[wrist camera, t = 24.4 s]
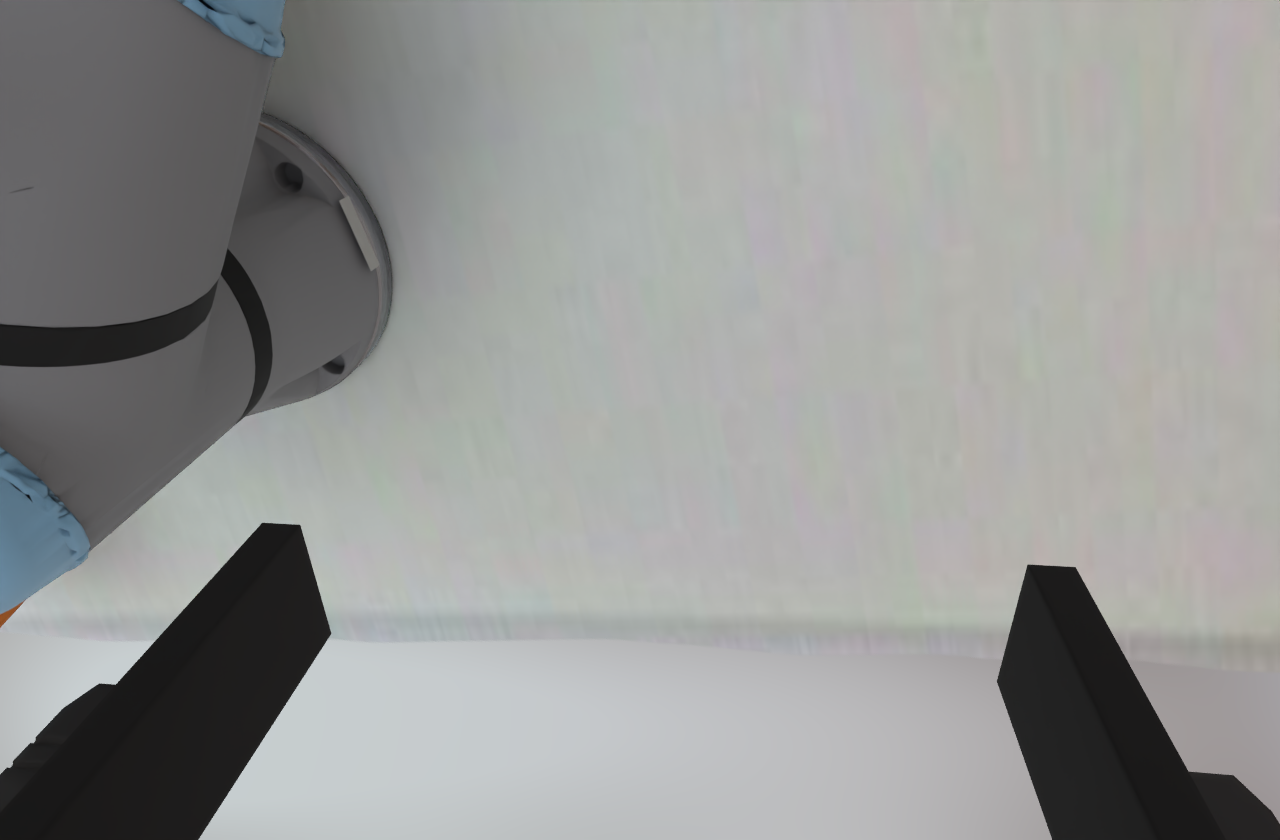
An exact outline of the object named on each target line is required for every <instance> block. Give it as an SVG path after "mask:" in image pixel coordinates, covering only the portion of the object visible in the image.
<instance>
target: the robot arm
mask: <svg viewBox="0 0 1280 840" xmlns="http://www.w3.org/2000/svg"><path fill="white" fill-rule="evenodd" d="M284 5H285V0H0V614H2V613H4V612H6V611H9V610H11V609H12V608H14V607H16V606H17V605H19V604H20V603H22V602H23V601H24V600H26V599H27V598H29V597H30V596H31V595H33V594H34V593H36V592H37V591H38V590H40V589H41V588H43V587H44V586H46V585H47V584H49V583H50V582H52V581H53V580H55V579H56V578H58V577H59V576H61V575H62V574H64V573H65V572H67V571H70V570H71V569H74V568H76V567H77V566H78V565H80V564H81V563H82V562H84V561H85V560H86V559H87V558H88V552H89V551H90V550H92V549H93V548H94V547H95V546H96V545H97V544H99V543H100V542H101V541H102V540H103V539H104V538H105V537H107V536H108V535H109V534H110V533H111V532H112V531H113V530H115V529H116V528H117V527H118V526H119V525H120V524H122V523H123V522H124V521H125V520H126V519H127V518H128V517H130V516H131V515H132V514H133V513H134V512H135V511H137V510H138V509H139V508H140V507H141V506H142V505H143V504H145V503H146V502H147V501H148V500H149V499H150V498H151V497H153V496H154V495H155V494H156V493H157V492H158V491H160V490H161V489H162V488H163V487H164V486H165V485H166V484H168V483H169V482H170V481H171V480H172V479H173V478H174V477H176V476H177V475H178V474H179V473H180V472H181V471H183V470H184V469H185V468H186V467H187V466H188V465H189V464H191V463H192V462H193V461H194V460H195V459H196V458H197V457H199V456H200V455H201V454H202V453H203V452H204V451H206V450H207V449H208V448H209V447H210V446H211V445H212V444H214V443H215V442H216V441H217V440H218V439H219V438H220V437H222V436H223V435H224V434H225V433H226V432H227V431H229V430H230V429H231V428H232V427H233V426H234V425H235V424H237V423H238V422H239V421H240V420H241V419H243V418H244V417H245V416H248V415H252V414H256V413H259V412H263V411H266V410H270V409H273V408H277V407H280V406H284V405H288V404H291V403H295V402H298V401H302V400H305V399H308V398H311V397H313V396H316V395H318V394H320V393H322V392H324V391H326V390H328V389H330V388H332V387H334V386H335V385H337V384H338V383H340V382H341V381H342V380H344V379H345V378H346V377H347V376H349V375H350V374H351V373H352V372H353V371H354V370H355V369H356V368H357V367H358V366H359V365H360V364H361V363H362V362H363V361H364V360H365V359H366V358H367V357H368V356H369V354H370V353H371V352H372V350H373V349H374V348H375V346H376V344H377V343H378V341H379V339H380V337H381V335H382V333H383V331H384V328H385V326H386V323H387V319H388V316H389V311H390V305H391V296H392V275H391V267H390V260H389V256H388V251H387V247H386V244H385V241H384V238H383V235H382V232H381V229H380V227H379V225H378V222H377V220H376V217H375V216H374V214H373V212H372V210H371V208H370V206H369V204H368V202H367V201H366V199H365V198H364V196H363V194H362V193H361V191H360V190H359V188H358V187H357V186H356V184H355V183H354V182H353V180H352V179H351V178H350V176H349V175H348V174H347V173H346V172H345V171H344V169H343V168H342V167H341V166H340V165H339V164H338V163H337V162H336V161H335V160H334V159H333V158H332V157H331V156H330V155H329V154H328V153H327V152H326V151H325V150H324V149H322V148H321V147H320V146H319V145H317V144H316V143H315V142H314V141H313V140H311V139H310V138H308V137H307V136H305V135H304V134H303V133H301V132H300V131H298V130H296V129H295V128H293V127H291V126H289V125H288V124H286V123H284V122H282V121H280V120H278V119H276V118H274V117H271V116H269V115H267V114H264V113H262V109H263V105H264V101H265V97H266V93H267V89H268V86H269V82H270V78H271V74H272V70H273V66H274V62H275V58H281V57H282V55H283V51H284V48H285V38H284V36H283V34H282V32H281V24H282V18H283V11H284ZM330 635H331V631H330V628H329V624H328V621H327V617H326V614H325V610H324V607H323V603H322V600H321V596H320V593H319V589H318V586H317V582H316V579H315V575H314V572H313V568H312V565H311V561H310V558H309V554H308V551H307V547H306V544H305V540H304V537H303V533H302V530H301V526H300V525H291V524H273V523H262V524H261V525H260V526H259V527H258V528H257V529H256V531H255V532H254V533H253V534H252V535H251V536H250V537H249V538H248V539H247V540H246V542H245V543H244V544H243V545H242V546H241V547H240V548H239V549H238V550H237V551H236V553H235V554H234V555H233V556H232V557H231V558H230V559H229V560H228V561H227V563H226V564H225V565H224V566H223V567H222V568H221V569H220V570H219V571H218V572H217V574H216V575H215V576H214V577H213V578H212V579H211V580H210V581H209V582H208V584H207V585H206V586H205V587H204V588H203V589H202V590H201V591H200V592H199V593H198V595H197V596H196V597H195V598H194V599H193V600H192V601H191V602H190V603H189V605H188V606H187V607H186V608H185V609H184V610H183V611H182V612H181V613H180V614H179V616H178V617H177V618H176V619H175V620H174V621H173V622H172V623H171V624H170V625H169V627H168V628H167V629H166V630H165V631H164V632H163V633H162V634H161V635H160V637H159V638H158V639H157V640H156V641H155V642H154V643H153V644H152V645H151V647H150V648H149V649H148V650H147V651H146V652H145V653H144V654H143V656H142V657H141V658H140V659H139V660H138V661H137V662H136V663H135V664H134V665H133V666H132V668H131V669H130V670H129V671H128V672H127V673H126V674H125V675H124V676H123V678H122V679H121V680H120V681H119V682H118V683H117V684H116V685H111V684H98V685H97V686H95V687H94V688H92V689H91V690H89V691H88V692H86V693H85V694H83V695H82V696H80V697H79V698H78V699H76V700H75V701H73V702H72V703H70V704H69V705H68V706H66V707H64V708H63V709H62V710H61V711H60V712H59V713H58V715H56V716H55V718H54V719H53V720H52V721H51V722H50V723H49V724H48V725H47V726H46V727H45V728H44V729H43V730H42V731H41V732H40V734H38V735H37V737H36V741H35V742H34V743H30V744H29V745H28V746H27V747H26V748H25V749H24V750H23V751H22V752H21V753H20V755H19V756H18V757H17V758H16V759H15V760H14V761H13V766H12V767H11V768H6V769H5V770H4V771H3V772H2V773H1V774H0V840H198V839H199V838H200V836H201V835H202V833H203V831H204V830H205V828H206V827H207V825H208V824H209V822H210V821H211V819H212V818H213V816H214V814H215V813H216V811H217V810H218V808H219V807H220V805H221V804H222V802H223V801H224V799H225V797H226V796H227V794H228V793H229V791H230V790H231V788H232V787H233V785H234V783H235V782H236V780H237V779H238V777H239V776H240V774H241V773H242V771H243V770H244V768H245V766H246V765H247V763H248V762H249V760H250V759H251V757H252V756H253V754H254V753H255V751H256V749H257V748H258V746H259V745H260V743H261V742H262V740H263V738H264V737H265V735H266V734H267V732H268V731H269V729H270V728H271V726H272V725H273V723H274V721H275V720H276V718H277V717H278V715H279V714H280V712H281V711H282V709H283V708H284V706H285V705H286V703H287V701H288V700H289V698H290V697H291V695H292V694H293V692H294V691H295V689H296V687H297V686H298V684H299V683H300V681H301V680H302V678H303V677H304V675H305V674H306V672H307V670H308V669H309V667H310V666H311V664H312V663H313V661H314V660H315V658H316V656H317V655H318V653H319V652H320V650H321V649H322V647H323V646H324V644H325V643H326V641H327V639H328V638H329V636H330ZM997 683H998V686H999V688H1000V691H1001V694H1002V697H1003V700H1004V703H1005V706H1006V709H1007V711H1008V714H1009V717H1010V720H1011V723H1012V726H1013V728H1014V731H1015V734H1016V737H1017V740H1018V743H1019V746H1020V749H1021V751H1022V754H1023V757H1024V760H1025V763H1026V766H1027V768H1028V771H1029V774H1030V777H1031V780H1032V783H1033V786H1034V789H1035V791H1036V794H1037V797H1038V800H1039V803H1040V806H1041V808H1042V811H1043V814H1044V817H1045V820H1046V823H1047V826H1048V829H1049V831H1050V834H1051V837H1052V840H1280V824H1279V822H1278V821H1277V819H1276V817H1275V816H1274V814H1273V813H1272V811H1271V810H1269V809H1268V808H1267V807H1266V806H1265V805H1264V804H1263V803H1262V802H1261V801H1260V800H1259V799H1258V798H1257V797H1256V796H1254V794H1252V792H1250V791H1249V790H1248V789H1247V788H1246V787H1245V786H1244V785H1243V784H1242V783H1241V782H1240V781H1239V780H1238V779H1237V778H1235V777H1234V776H1233V775H1221V774H1210V773H1198V772H1188V770H1187V768H1186V766H1185V765H1184V763H1183V761H1182V759H1181V757H1180V755H1179V754H1178V752H1177V750H1176V748H1175V747H1174V745H1173V743H1172V741H1171V739H1170V737H1169V736H1168V734H1167V732H1166V730H1165V728H1164V727H1163V725H1162V723H1161V721H1160V719H1159V718H1158V716H1157V714H1156V712H1155V710H1154V709H1153V707H1152V705H1151V703H1150V701H1149V700H1148V698H1147V696H1146V694H1145V692H1144V691H1143V689H1142V687H1141V685H1140V683H1139V681H1138V680H1137V678H1136V676H1135V674H1134V672H1133V670H1132V669H1131V667H1130V665H1129V663H1128V661H1127V660H1126V658H1125V656H1124V654H1123V652H1122V651H1121V649H1120V647H1119V645H1118V643H1117V642H1116V640H1115V638H1114V636H1113V634H1112V632H1111V631H1110V629H1109V627H1108V625H1107V623H1106V622H1105V620H1104V618H1103V616H1102V614H1101V613H1100V611H1099V609H1098V607H1097V605H1096V604H1095V602H1094V600H1093V598H1092V596H1091V594H1090V593H1089V591H1088V589H1087V587H1086V585H1085V584H1084V582H1083V580H1082V578H1081V576H1080V575H1079V573H1078V571H1077V569H1076V567H1061V566H1043V565H1027V569H1026V573H1025V577H1024V581H1023V584H1022V588H1021V592H1020V596H1019V600H1018V603H1017V607H1016V611H1015V615H1014V619H1013V622H1012V626H1011V630H1010V634H1009V638H1008V641H1007V645H1006V649H1005V653H1004V657H1003V660H1002V665H1001V668H1000V672H999V676H998V679H997Z"/></svg>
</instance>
